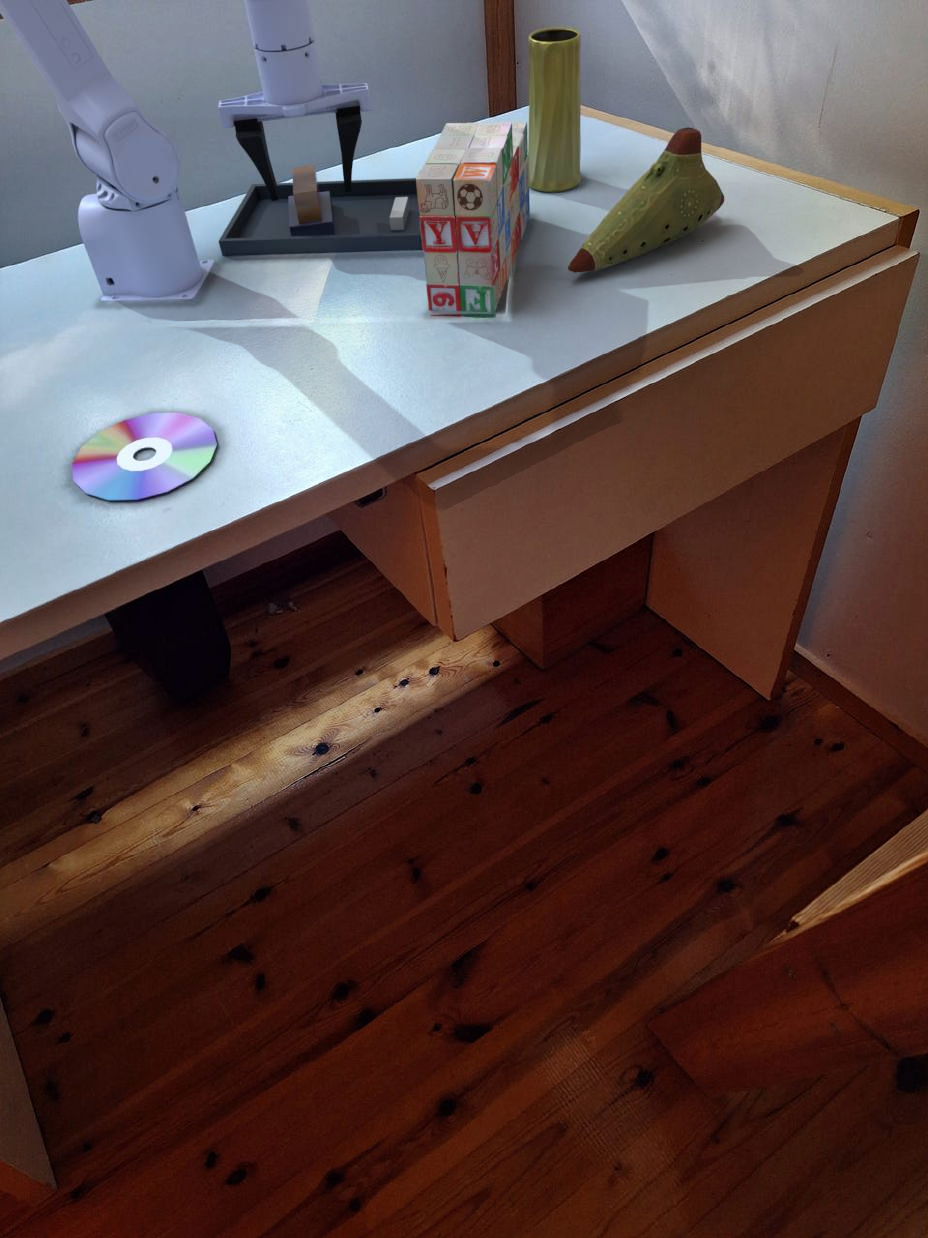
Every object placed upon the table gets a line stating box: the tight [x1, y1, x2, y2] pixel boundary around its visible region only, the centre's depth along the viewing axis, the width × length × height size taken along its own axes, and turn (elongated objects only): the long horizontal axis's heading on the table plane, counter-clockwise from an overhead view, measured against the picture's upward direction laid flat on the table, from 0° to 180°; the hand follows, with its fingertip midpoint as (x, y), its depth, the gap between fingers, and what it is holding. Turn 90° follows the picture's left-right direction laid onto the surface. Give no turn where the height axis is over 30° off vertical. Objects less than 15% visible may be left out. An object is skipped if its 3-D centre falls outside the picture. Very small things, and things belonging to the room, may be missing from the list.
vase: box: [527, 26, 583, 193], centre depth 96 cm, size 6×6×14 cm
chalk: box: [390, 197, 410, 231], centre depth 95 cm, size 1×5×1 cm, turn 176°
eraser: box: [288, 164, 335, 236], centre depth 95 cm, size 8×4×4 cm, turn 8°
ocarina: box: [567, 126, 725, 274], centre depth 84 cm, size 20×5×10 cm, turn 126°
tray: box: [218, 177, 423, 257], centre depth 96 cm, size 21×14×2 cm
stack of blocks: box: [415, 121, 531, 319], centre depth 84 cm, size 21×6×12 cm, turn 169°
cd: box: [71, 412, 218, 501], centre depth 70 cm, size 11×11×1 cm
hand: (311, 192), depth 94 cm, fingers open, 7 cm apart
